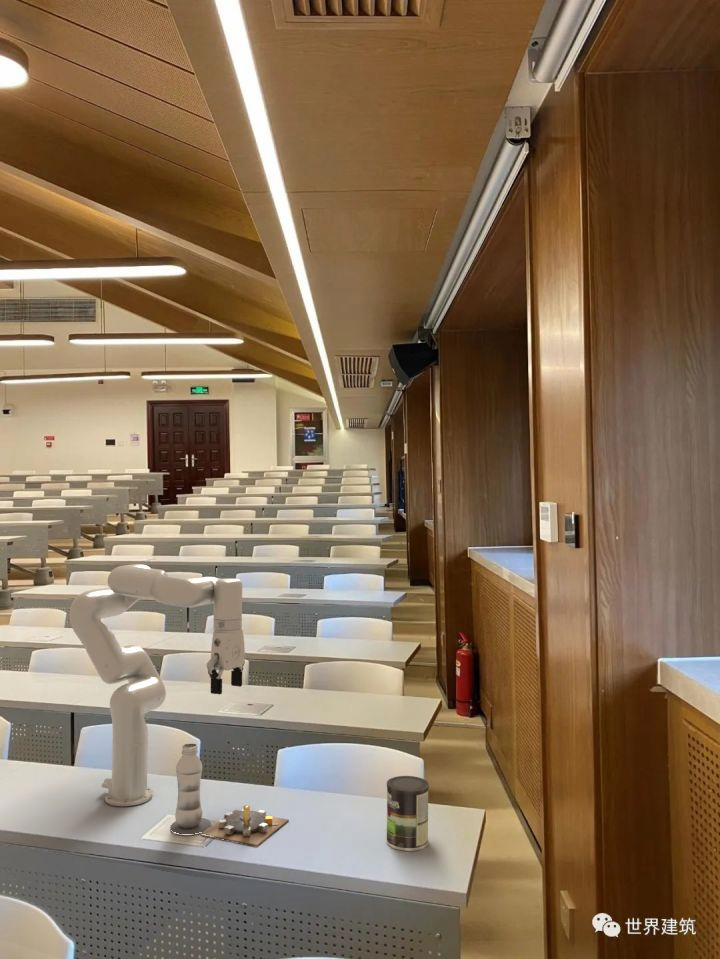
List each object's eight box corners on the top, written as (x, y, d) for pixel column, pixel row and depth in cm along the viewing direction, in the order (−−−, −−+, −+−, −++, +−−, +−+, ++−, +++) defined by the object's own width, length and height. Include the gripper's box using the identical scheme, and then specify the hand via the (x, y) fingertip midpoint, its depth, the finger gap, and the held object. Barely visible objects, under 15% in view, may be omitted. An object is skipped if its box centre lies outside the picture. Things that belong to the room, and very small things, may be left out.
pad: (162, 831, 183) (162, 829, 183) (186, 816, 193) (186, 814, 193) (195, 838, 180) (195, 836, 180) (218, 823, 189) (218, 821, 189)
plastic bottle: (195, 832, 182) (197, 750, 183) (170, 830, 183) (171, 748, 184) (206, 822, 188) (207, 742, 189) (181, 820, 189) (182, 740, 190)
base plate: (200, 835, 181) (200, 832, 181) (235, 811, 196) (235, 808, 196) (257, 847, 175) (257, 844, 175) (288, 821, 190) (288, 818, 190)
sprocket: (236, 841, 176) (237, 814, 177) (209, 823, 186) (209, 798, 187) (282, 826, 185) (282, 801, 185) (253, 810, 195) (254, 786, 195)
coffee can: (396, 854, 172) (396, 793, 173) (379, 836, 182) (380, 778, 182) (436, 847, 176) (436, 787, 176) (417, 830, 185) (417, 773, 186)
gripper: (221, 630, 188) (220, 698, 187) (256, 621, 204) (255, 684, 203) (196, 628, 191) (195, 695, 190) (233, 620, 207) (232, 681, 206)
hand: (226, 689), depth 197 cm, fingers open, 9 cm apart
